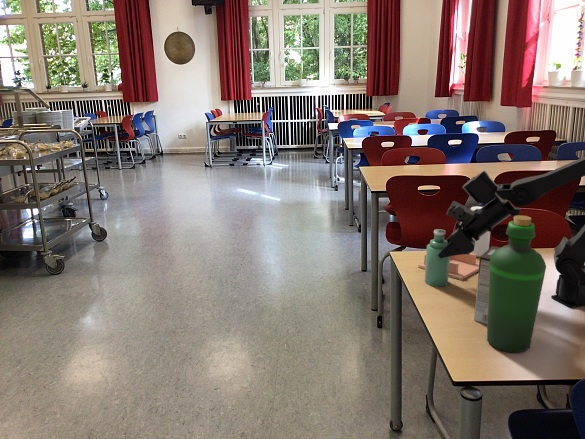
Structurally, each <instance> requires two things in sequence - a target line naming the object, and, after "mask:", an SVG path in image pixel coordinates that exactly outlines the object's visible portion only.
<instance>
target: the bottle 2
mask: <svg viewBox="0 0 585 439" xmlns="http://www.w3.org/2000/svg"><path fill="white" fill-rule="evenodd" d="M531 221H532V217H530V216H528V215H522V214H521V215H518V216H514V218H513V220H511V221H509V222H508V224H507V228H506V230H505V231H506V232H505V235H507V236H508V244H506V245H504V246H502V247H500V248H499V249H497V250H495V251H494V252H493V254H492V255H491V256H490V272H489V298H488V324H486V325H487V328H486V330H487V331H486V333H487V334H486V341H487V343H489V344H490V345H491V346H492V347H494V348H496V349H498V350H501V351H503V352H508V353H520V352H526V351H527V350H528V349H530V348H531V345H532V344H531V343H532V340H533V339H532V338H533V333H534V329H535V324H536V321H537V315H538V314H537V313H538V309H539V305H540V299H541V294H542V290H543V284H544V280H545V276H546V269H547V264H546V262H545V259H544V258H543V256H542V254H541V253H540V252H538V251H537V250H535V249H534V248H532V247H531V244H532V241H533V239H534V238H536V229H535V228H536V227H535V223H532V222H531Z"/></svg>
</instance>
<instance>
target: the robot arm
mask: <svg viewBox="0 0 585 439" xmlns="http://www.w3.org/2000/svg"><path fill="white" fill-rule="evenodd" d="M583 177H585V156H582V157H581V158H578V159H576V160H573V161H571V162H569V163H566V164H564V165H561V166H560V167H557V168H555V169H553V170H550V171H548V172H546V173H543V174H539V175H533V176H529V177H528V176H526V177H524V178H520V179H516V180H514V181H513V182H512V183H502V184H500V183H499V184H496V183H495V181H494V180H493V179H492V178H491V176H489V174H488V172H487V171H486V170H483V171H481V172H480V173H478V174H477V175H475V176H472V177H471V178H470V179H469V180H468V181H467V182H466V183H464V184H463V186H462V189H463V190H464V191H465V192H466V193H467V194H468V195H469V197H470V198H471V199H472V200H473V201H474V203H476V204H480V205H481V204H482V205H484V206H481V207H482V208H481V209H476V210H474V211H472V210H471V208H468V207H467V206H465V205H463V204H461V203H460V202H458V201H455V200H453V201H452V202H451V204H450V206H449V208H448V209H447V211H446V213H445V214H446V216H448V217H450V218H454V219H455V220H456V222H455V229H454V231H453V232H451V234H450V235H449V236H448V237H447V239H445V240H446V241H448V245H447V246H446V247H445V248H444V249H443V250H442V251H441V252H440V253H439V254H438V256H439V257H440V258H444V257H450V256H455V255H461V254H467V255H468V254H470V253H471V252H472V251H474V248H475V241H478V240H479V239H480V237H481V236H482V235H483V234H485V233H486V232H488V231H489V232H490V231H493V230H494V228H495V227H496V226H497V225H499V224H500V223H501V222H503V221H504V220H506V219H507V218H509V217H510V216H512V218H513V219H514V216H518V215H519V214H520V212H521V207H523V208H524V207H527V206H529V205H531V204H533V203H534V202H535V201H537V200H539V199H540V198H542V197H543V196H544V195H545V194H547V193H549V192H550V191H552V190H554V189H556V188H559V187H561V186H563V185H566V184H568V183H571V182H574V181H576V180H579V179H580V178H583ZM487 202H488V203H487ZM515 206H516V207H515ZM490 233H491V232H490ZM473 238H474V239H475V241H474V240H473ZM553 251H554V253H553V260H554V261H553V262H554V266H555V269H556V271H557V272H558V273H559V274H558V279H557V281H556V287H555V294H553V295H551V296H550V298H551V299H553V300H555V301H557V302H559V303H561V304H563V305H564V306H566V307H568V308H577V307H583V306H584V307H585V224H584V225H583V226H582V227H581V229H579V231H578V232H577V234H576V235H574V236H573V237H570V239H568V238H567V237H566V236H563V238H562V239H561V241H560V243H558V245H556V247H554V248H553Z"/></svg>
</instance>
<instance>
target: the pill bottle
mask: <svg viewBox="0 0 585 439" xmlns="http://www.w3.org/2000/svg"><path fill="white" fill-rule="evenodd" d="M482 207H483V206H476V205H475V206H471V207H470V210H472V211H474V210H476V209H481V208H482ZM473 240H474V241H475V239H474V238H473ZM490 240H491V231H490V232H489V231H488V232H486V233H485V234H483V235H482V236H481V237H480V239H479V240H478V241H475V248H474V251H472V252H471V253H473V254H476V258H477V257H479V258H480V256H481V255H483V254H484V253H485V252H486V251H487V250H488V249H489V248H490V242H491V241H490Z"/></svg>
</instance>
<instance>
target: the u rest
mask: <svg viewBox="0 0 585 439" xmlns="http://www.w3.org/2000/svg"><path fill="white" fill-rule="evenodd" d="M418 268H419V269H423V270H425V269H426V254H425V255H424V261H423V262H422V263H420V264H418ZM478 272H479V262H477V256H476V254H473V253H470V254H468V255H467V254H461V255H455V256H450V261H449V275H448V278H452V279H456V280H460V281H463V280H465V279H466V278H468V277H470V276H472V275H473V274H475V273H478Z"/></svg>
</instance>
